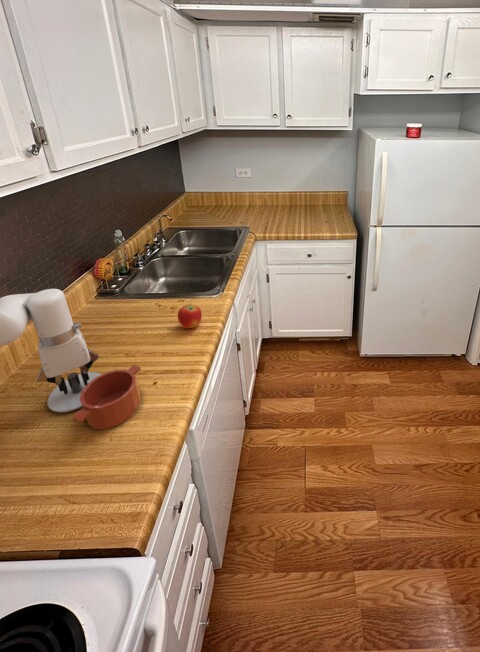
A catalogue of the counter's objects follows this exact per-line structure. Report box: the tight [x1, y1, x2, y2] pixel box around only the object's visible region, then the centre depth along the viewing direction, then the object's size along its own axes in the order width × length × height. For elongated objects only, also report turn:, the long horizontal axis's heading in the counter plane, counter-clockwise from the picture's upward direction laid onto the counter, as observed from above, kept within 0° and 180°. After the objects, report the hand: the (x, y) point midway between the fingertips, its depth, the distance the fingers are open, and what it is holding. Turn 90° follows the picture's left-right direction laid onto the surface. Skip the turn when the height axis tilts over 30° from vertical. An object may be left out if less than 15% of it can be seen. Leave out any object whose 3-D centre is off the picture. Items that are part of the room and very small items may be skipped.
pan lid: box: [46, 371, 103, 413], centre depth 93 cm, size 14×14×7 cm
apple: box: [177, 302, 203, 329], centre depth 121 cm, size 8×8×10 cm
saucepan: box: [72, 364, 142, 430], centre depth 89 cm, size 13×18×7 cm
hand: (75, 386), depth 94 cm, fingers open, 4 cm apart
